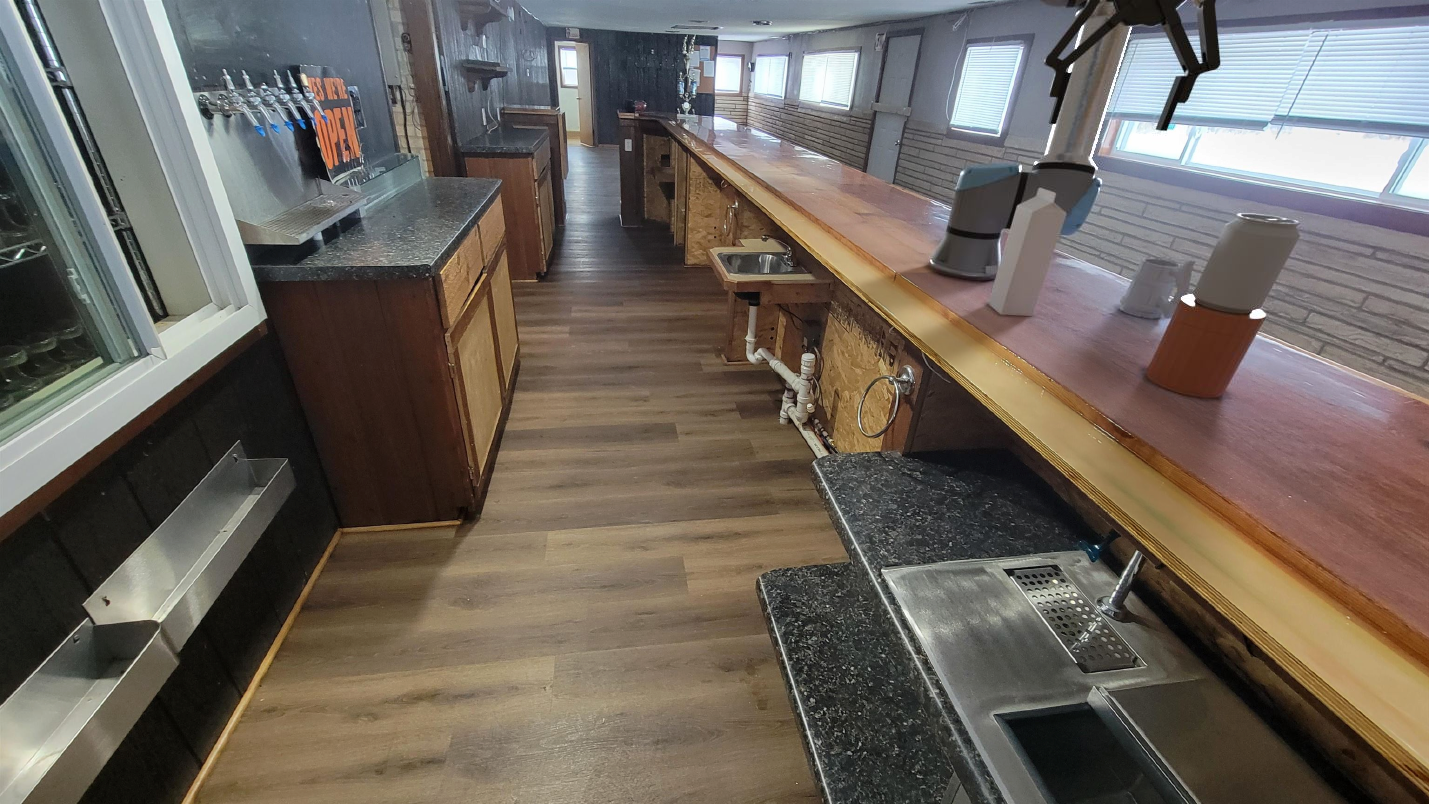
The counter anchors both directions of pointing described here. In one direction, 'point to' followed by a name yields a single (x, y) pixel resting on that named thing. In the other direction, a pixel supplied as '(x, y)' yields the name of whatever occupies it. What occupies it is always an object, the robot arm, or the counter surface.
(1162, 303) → the mug
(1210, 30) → the robot arm
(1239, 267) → the can
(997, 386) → the counter surface
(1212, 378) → the jar
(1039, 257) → the milk
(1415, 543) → the counter surface
